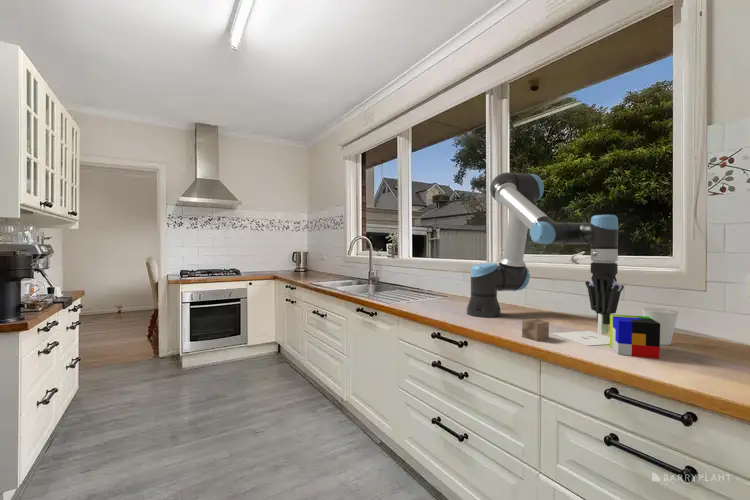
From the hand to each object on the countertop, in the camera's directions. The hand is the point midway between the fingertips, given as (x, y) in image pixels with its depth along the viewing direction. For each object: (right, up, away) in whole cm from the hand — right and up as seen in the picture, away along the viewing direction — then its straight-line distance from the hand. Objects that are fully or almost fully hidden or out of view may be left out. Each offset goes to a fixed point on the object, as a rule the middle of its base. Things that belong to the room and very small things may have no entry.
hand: (602, 333), depth 118 cm
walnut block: (-20, -3, +6) cm, 21 cm away
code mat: (-1, -3, +6) cm, 7 cm away
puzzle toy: (+3, -3, -10) cm, 11 cm away
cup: (+18, -3, 0) cm, 19 cm away
